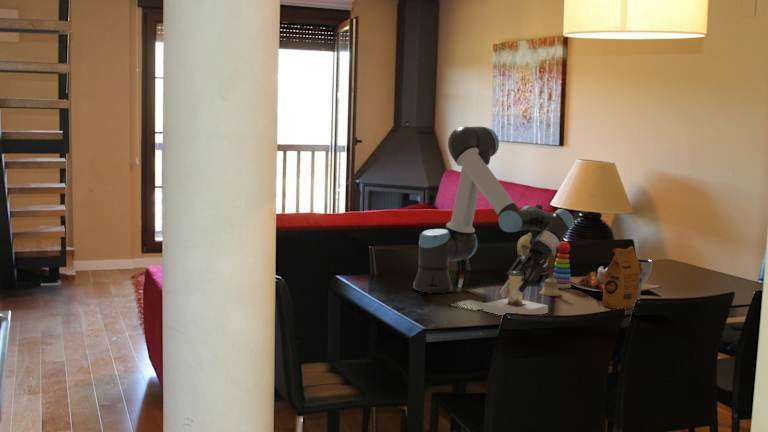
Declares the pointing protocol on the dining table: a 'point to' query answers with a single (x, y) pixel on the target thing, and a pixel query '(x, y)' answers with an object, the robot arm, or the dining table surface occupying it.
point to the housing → (503, 307)
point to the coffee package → (622, 279)
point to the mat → (474, 305)
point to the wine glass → (644, 272)
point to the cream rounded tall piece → (530, 242)
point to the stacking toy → (562, 266)
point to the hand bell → (550, 281)
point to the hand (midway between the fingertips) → (507, 296)
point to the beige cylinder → (514, 280)
